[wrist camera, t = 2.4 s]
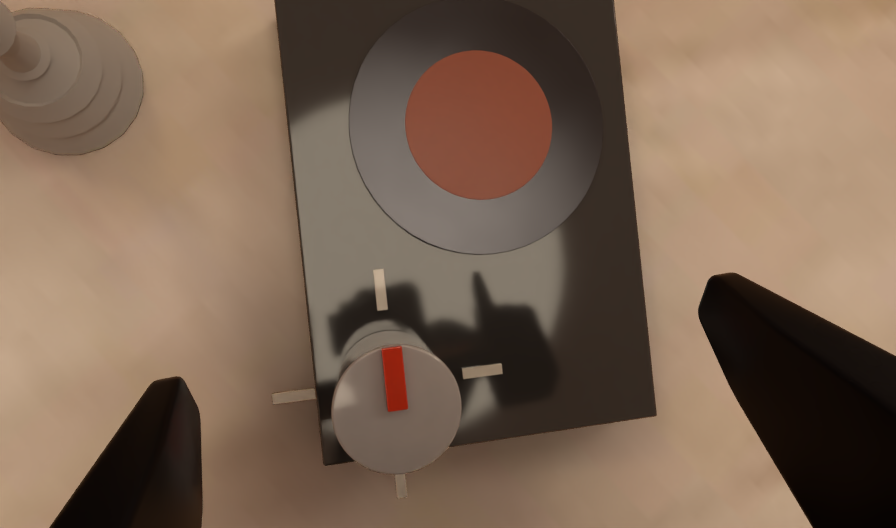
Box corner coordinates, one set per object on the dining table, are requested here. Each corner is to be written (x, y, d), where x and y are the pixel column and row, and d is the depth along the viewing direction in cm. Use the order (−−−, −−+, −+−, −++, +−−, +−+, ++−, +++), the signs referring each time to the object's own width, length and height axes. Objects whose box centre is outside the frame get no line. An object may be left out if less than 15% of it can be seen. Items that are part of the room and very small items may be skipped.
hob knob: (447, 428, 21) (470, 468, 17) (342, 443, 20) (338, 489, 16) (436, 324, 21) (457, 338, 17) (330, 337, 20) (323, 354, 16)
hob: (636, 439, 24) (663, 456, 22) (291, 493, 22) (284, 517, 20) (591, 2, 24) (614, -24, 22) (241, 17, 22) (228, -10, 20)
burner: (613, 241, 22) (615, 241, 22) (363, 267, 21) (363, 267, 20) (587, -7, 22) (590, -10, 22) (335, 3, 21) (335, 0, 20)
